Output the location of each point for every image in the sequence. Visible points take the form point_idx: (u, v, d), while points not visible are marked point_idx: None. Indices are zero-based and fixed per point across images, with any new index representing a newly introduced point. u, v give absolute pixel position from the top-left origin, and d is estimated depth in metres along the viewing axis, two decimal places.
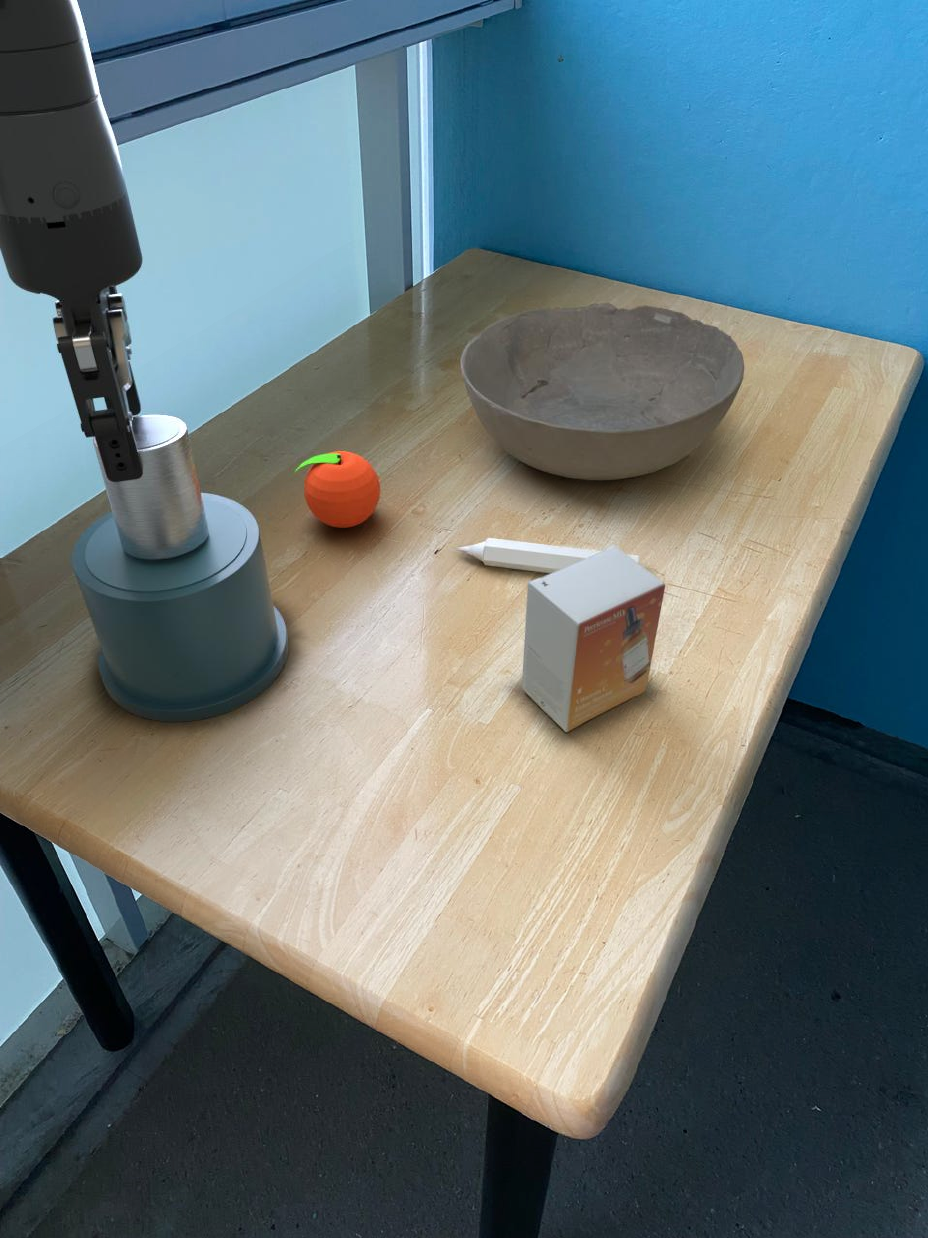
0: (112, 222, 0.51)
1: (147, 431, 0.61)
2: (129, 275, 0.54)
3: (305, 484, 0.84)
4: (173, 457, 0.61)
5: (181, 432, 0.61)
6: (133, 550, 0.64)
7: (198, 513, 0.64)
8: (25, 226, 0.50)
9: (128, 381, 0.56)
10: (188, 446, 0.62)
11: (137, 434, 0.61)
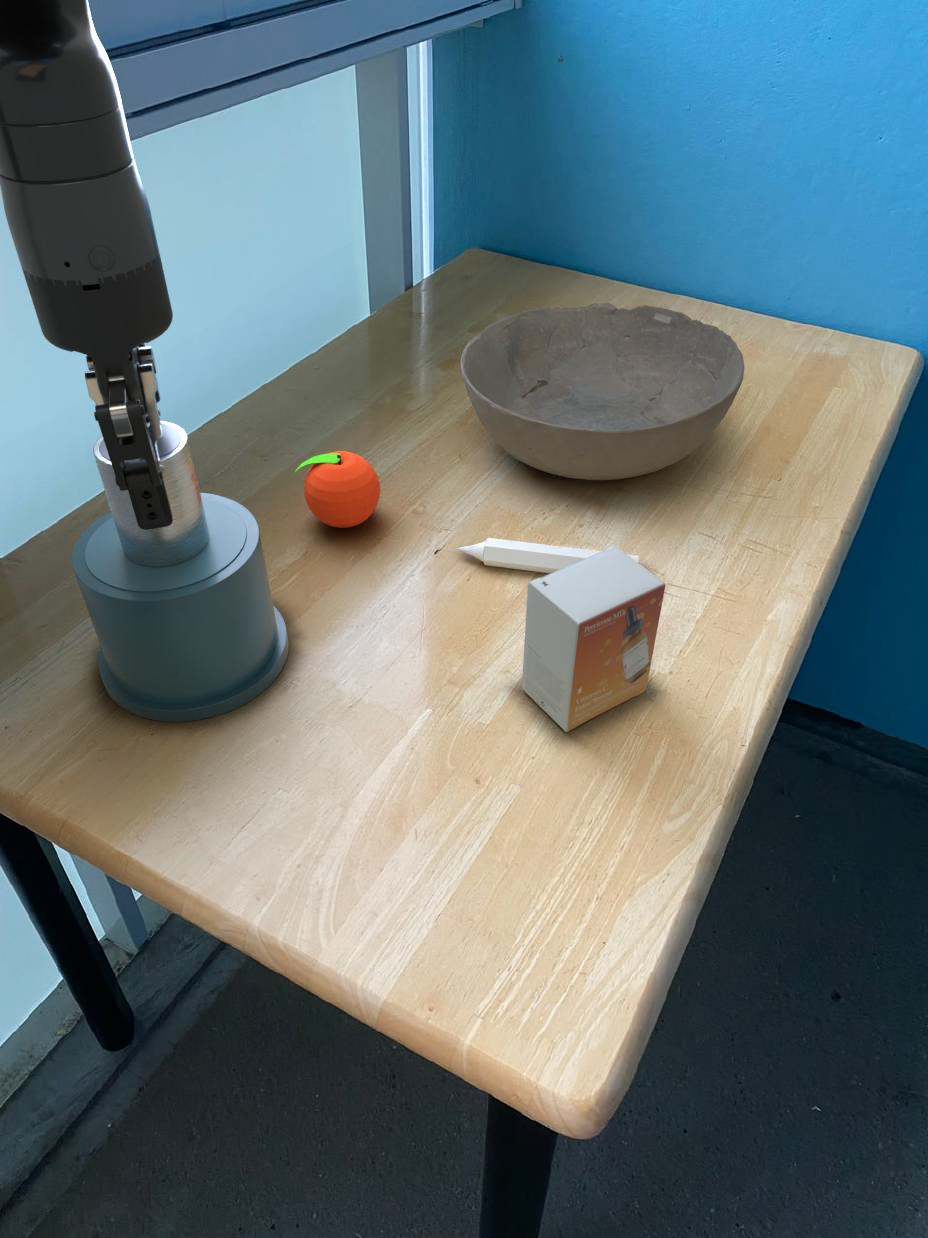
0: (145, 282, 0.52)
1: None
2: (161, 332, 0.55)
3: (305, 484, 0.84)
4: (174, 470, 0.60)
5: (182, 443, 0.61)
6: (135, 557, 0.64)
7: (200, 520, 0.64)
8: (61, 288, 0.50)
9: (160, 436, 0.57)
10: (189, 456, 0.62)
11: None
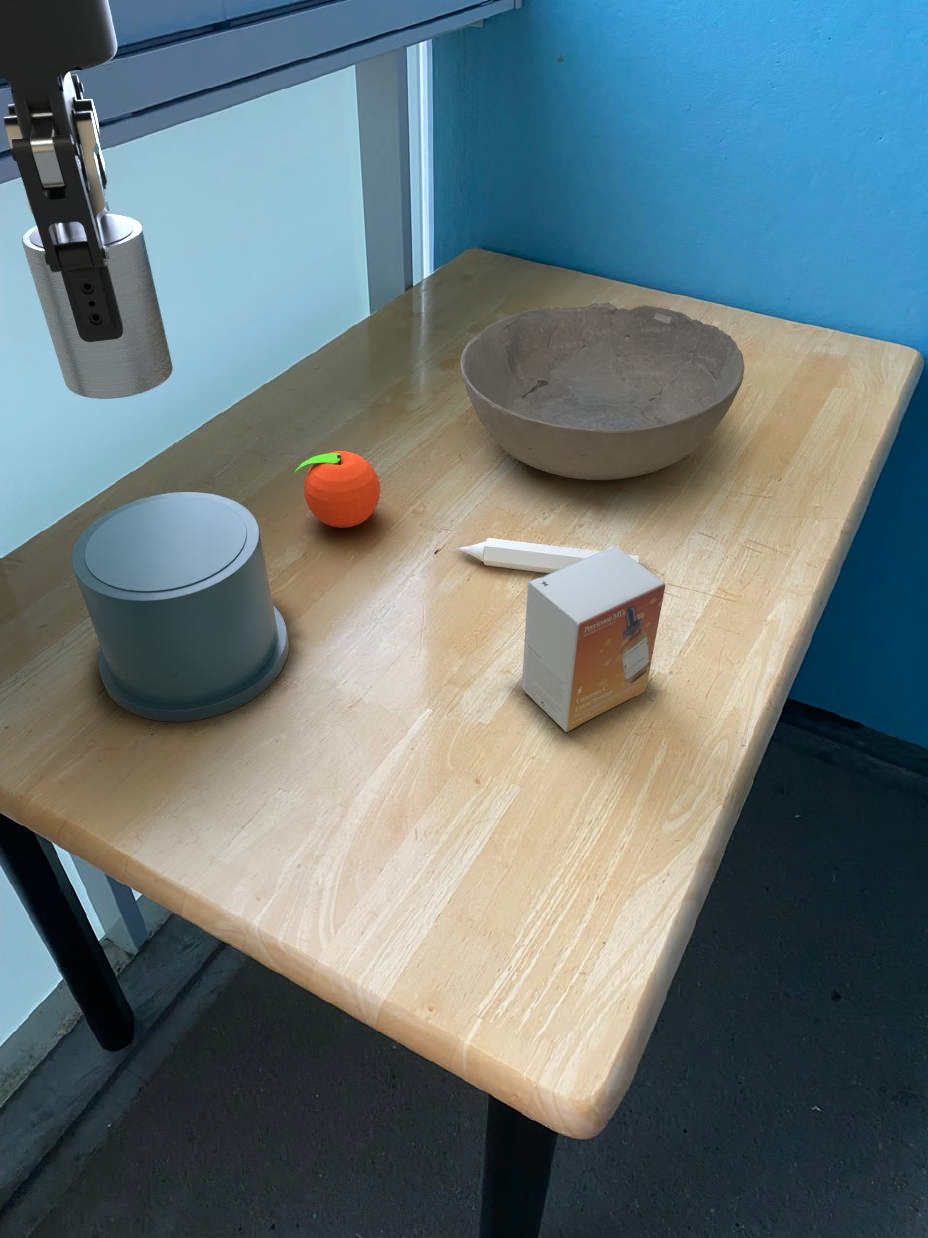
0: None
1: None
2: (100, 57, 0.42)
3: (305, 484, 0.84)
4: (125, 263, 0.48)
5: (134, 232, 0.48)
6: (79, 386, 0.51)
7: (159, 342, 0.52)
8: None
9: (103, 208, 0.45)
10: (144, 252, 0.49)
11: (78, 233, 0.48)
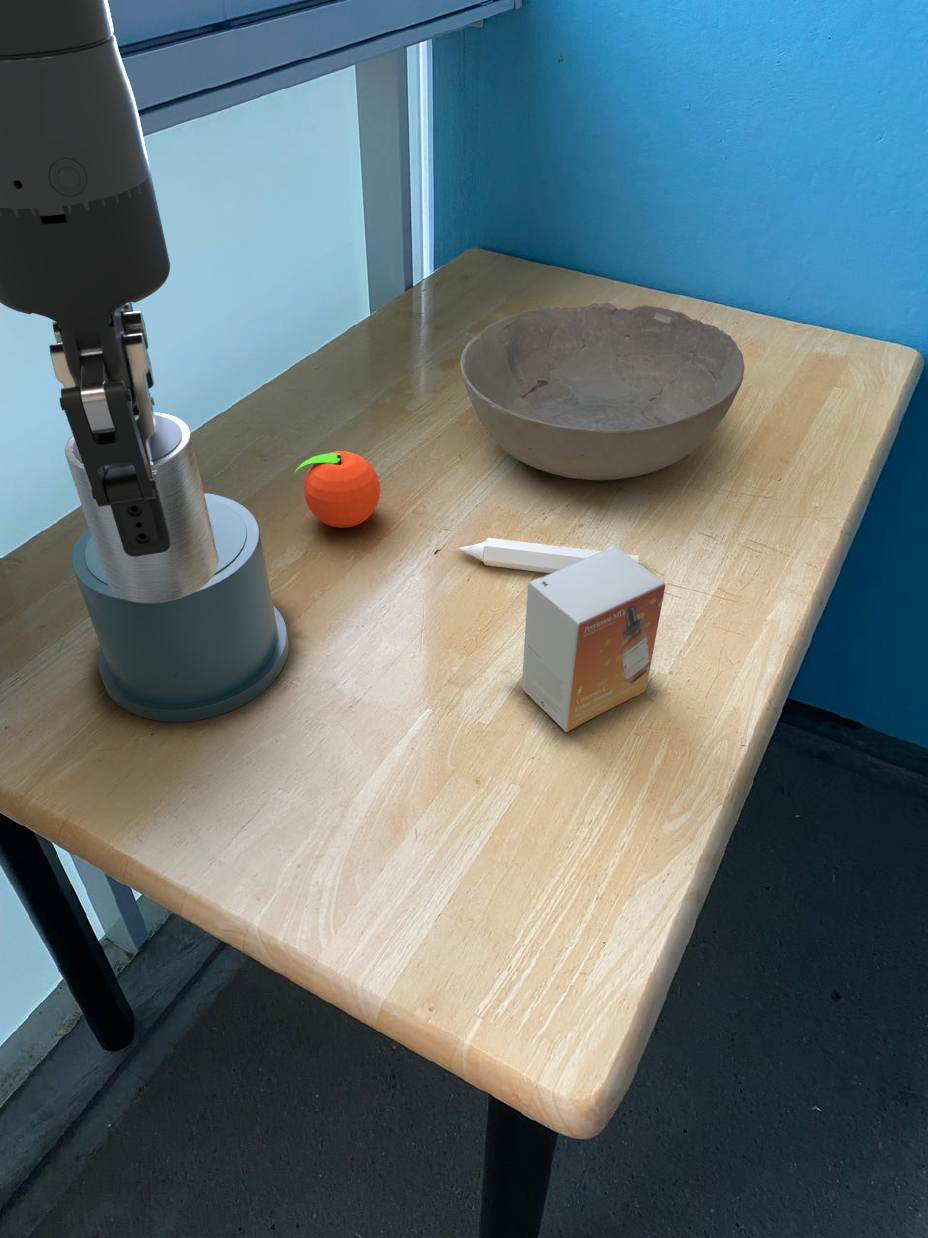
0: (131, 215, 0.37)
1: None
2: (154, 288, 0.39)
3: (305, 484, 0.84)
4: (173, 477, 0.45)
5: (183, 441, 0.46)
6: (122, 591, 0.49)
7: (206, 542, 0.49)
8: (10, 220, 0.35)
9: (153, 433, 0.42)
10: (193, 459, 0.47)
11: None
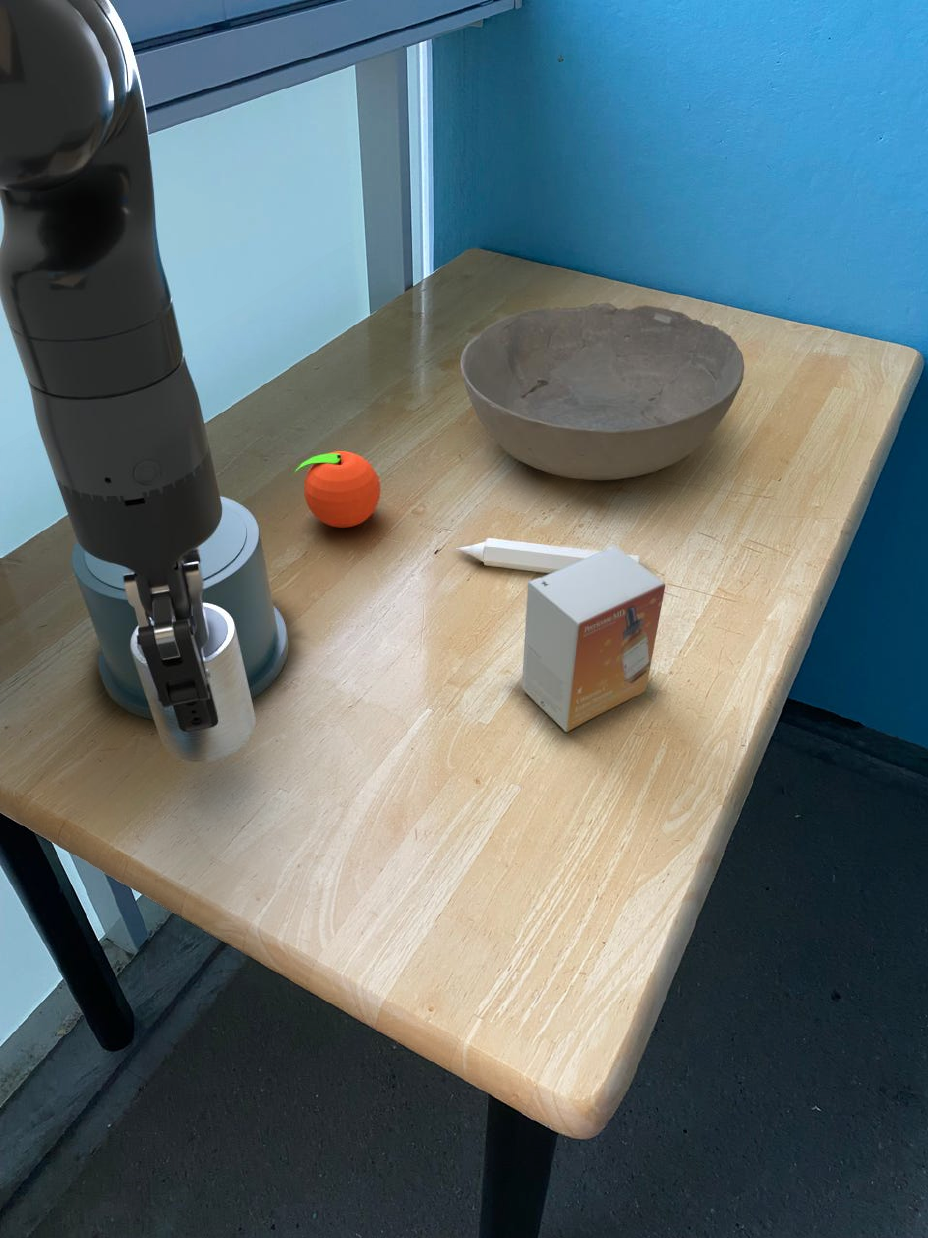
0: (195, 488, 0.46)
1: None
2: (210, 534, 0.48)
3: (305, 484, 0.84)
4: (221, 667, 0.54)
5: (229, 635, 0.54)
6: (175, 753, 0.57)
7: (246, 710, 0.58)
8: (100, 503, 0.44)
9: (207, 641, 0.51)
10: (237, 647, 0.55)
11: None
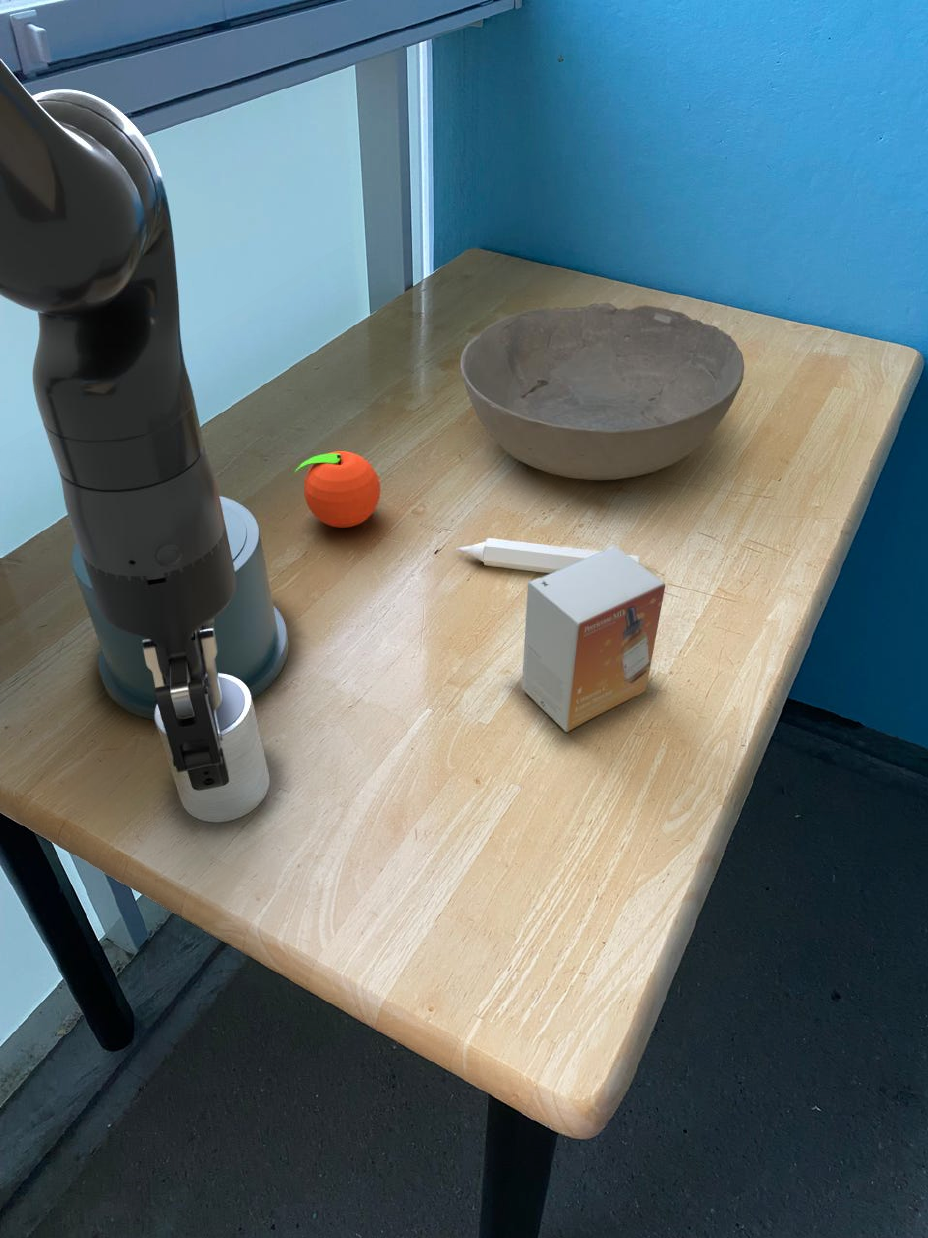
0: (212, 566, 0.49)
1: None
2: (225, 606, 0.51)
3: (305, 484, 0.84)
4: (239, 737, 0.58)
5: (247, 706, 0.58)
6: (194, 813, 0.61)
7: (261, 773, 0.62)
8: (124, 582, 0.47)
9: None
10: (253, 717, 0.59)
11: None
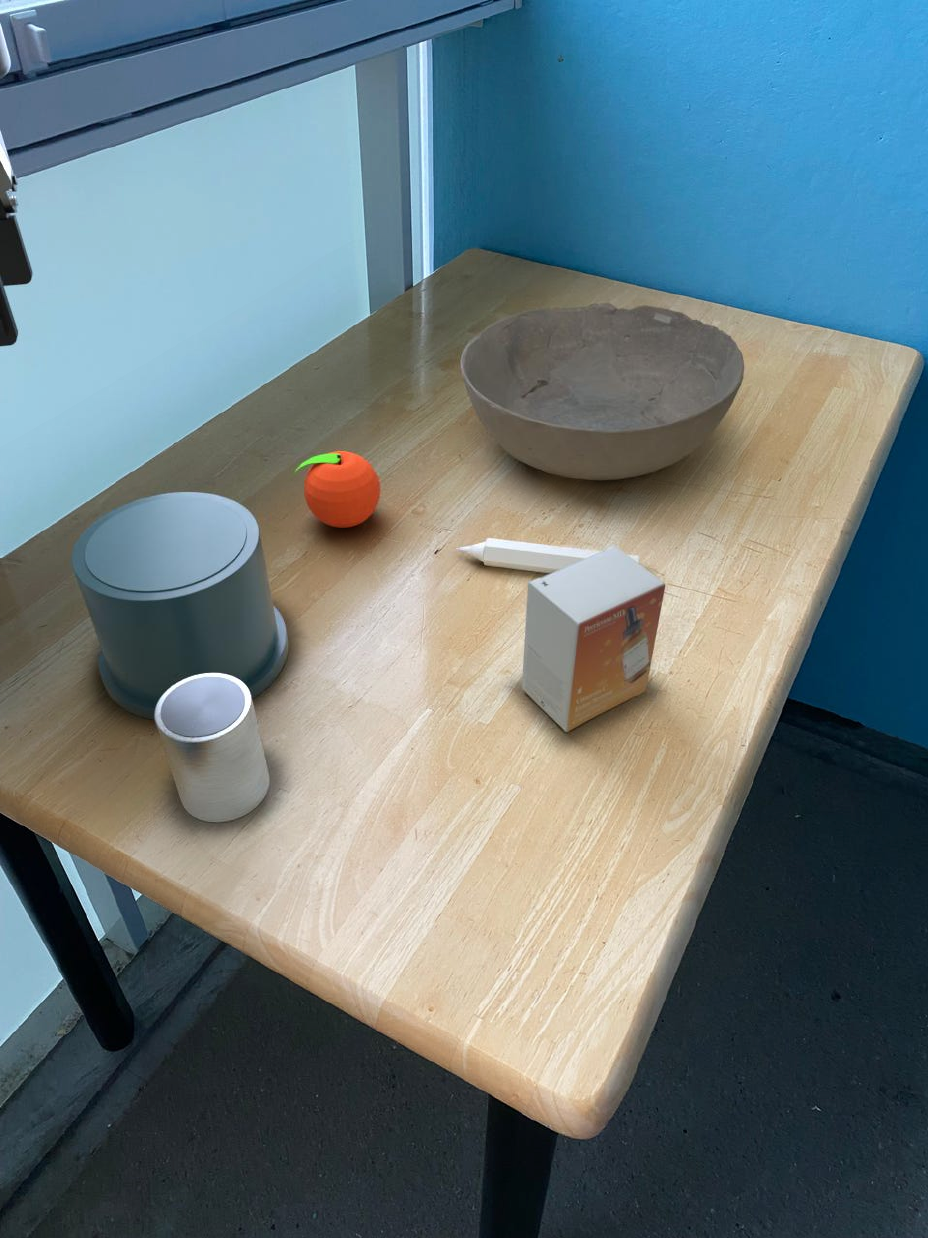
0: None
1: (210, 704, 0.58)
2: None
3: (305, 484, 0.84)
4: (239, 737, 0.58)
5: (247, 706, 0.58)
6: (194, 813, 0.61)
7: (261, 773, 0.62)
8: None
9: None
10: (253, 717, 0.59)
11: (200, 710, 0.58)
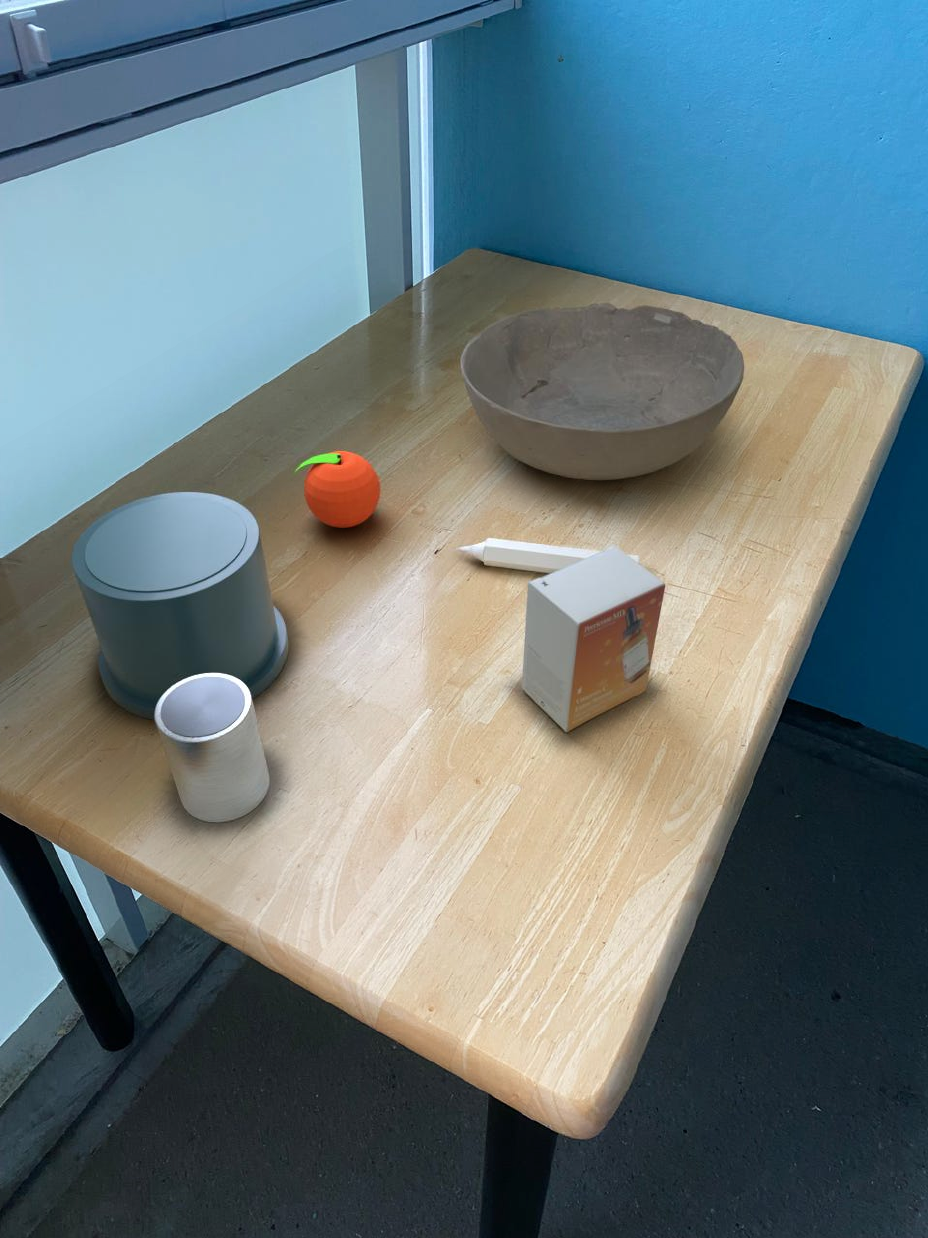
0: None
1: (210, 704, 0.58)
2: None
3: (305, 484, 0.84)
4: (239, 737, 0.58)
5: (247, 706, 0.58)
6: (194, 813, 0.61)
7: (261, 773, 0.62)
8: None
9: None
10: (253, 717, 0.59)
11: (200, 710, 0.58)
